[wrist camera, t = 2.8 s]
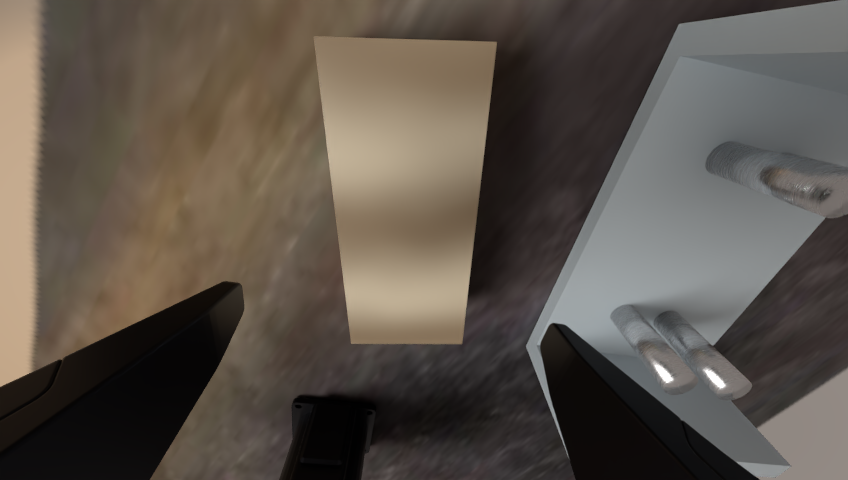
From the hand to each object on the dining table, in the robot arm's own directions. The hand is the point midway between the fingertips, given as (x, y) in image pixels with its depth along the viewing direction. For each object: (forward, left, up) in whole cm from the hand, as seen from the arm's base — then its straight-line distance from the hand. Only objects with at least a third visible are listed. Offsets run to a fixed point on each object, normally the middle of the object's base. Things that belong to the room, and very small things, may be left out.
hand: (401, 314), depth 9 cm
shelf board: (0, 0, -9) cm, 9 cm away
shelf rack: (0, -16, -9) cm, 18 cm away
